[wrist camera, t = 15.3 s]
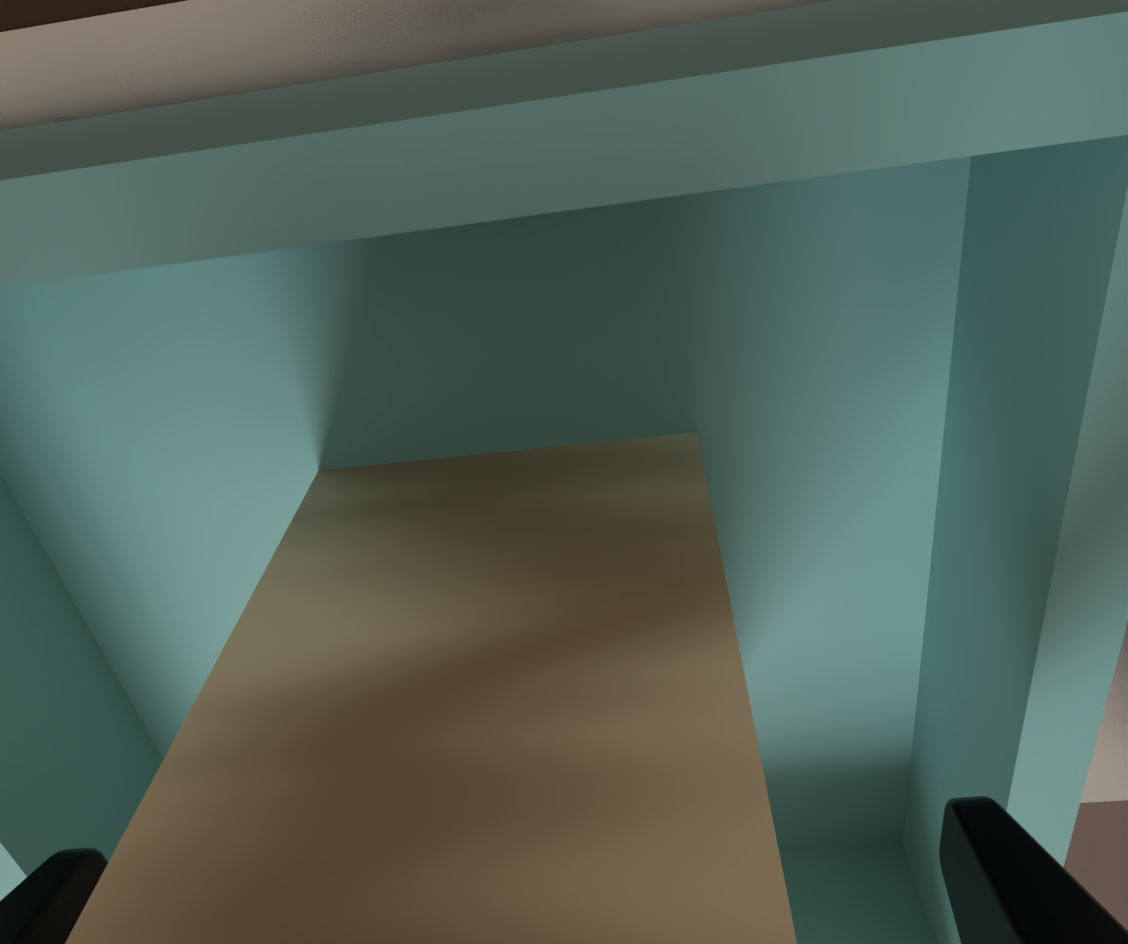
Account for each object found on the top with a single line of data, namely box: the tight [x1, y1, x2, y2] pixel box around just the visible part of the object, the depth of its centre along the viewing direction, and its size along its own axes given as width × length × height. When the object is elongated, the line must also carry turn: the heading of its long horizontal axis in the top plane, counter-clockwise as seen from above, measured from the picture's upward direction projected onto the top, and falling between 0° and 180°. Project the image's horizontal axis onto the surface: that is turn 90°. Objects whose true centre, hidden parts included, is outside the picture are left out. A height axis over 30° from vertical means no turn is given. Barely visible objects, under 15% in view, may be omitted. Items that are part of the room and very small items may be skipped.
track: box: [0, 0, 1128, 803], centre depth 13 cm, size 29×16×3 cm, turn 98°
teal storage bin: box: [0, 0, 1128, 944], centre depth 12 cm, size 14×14×5 cm
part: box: [65, 432, 797, 944], centre depth 9 cm, size 5×5×7 cm
